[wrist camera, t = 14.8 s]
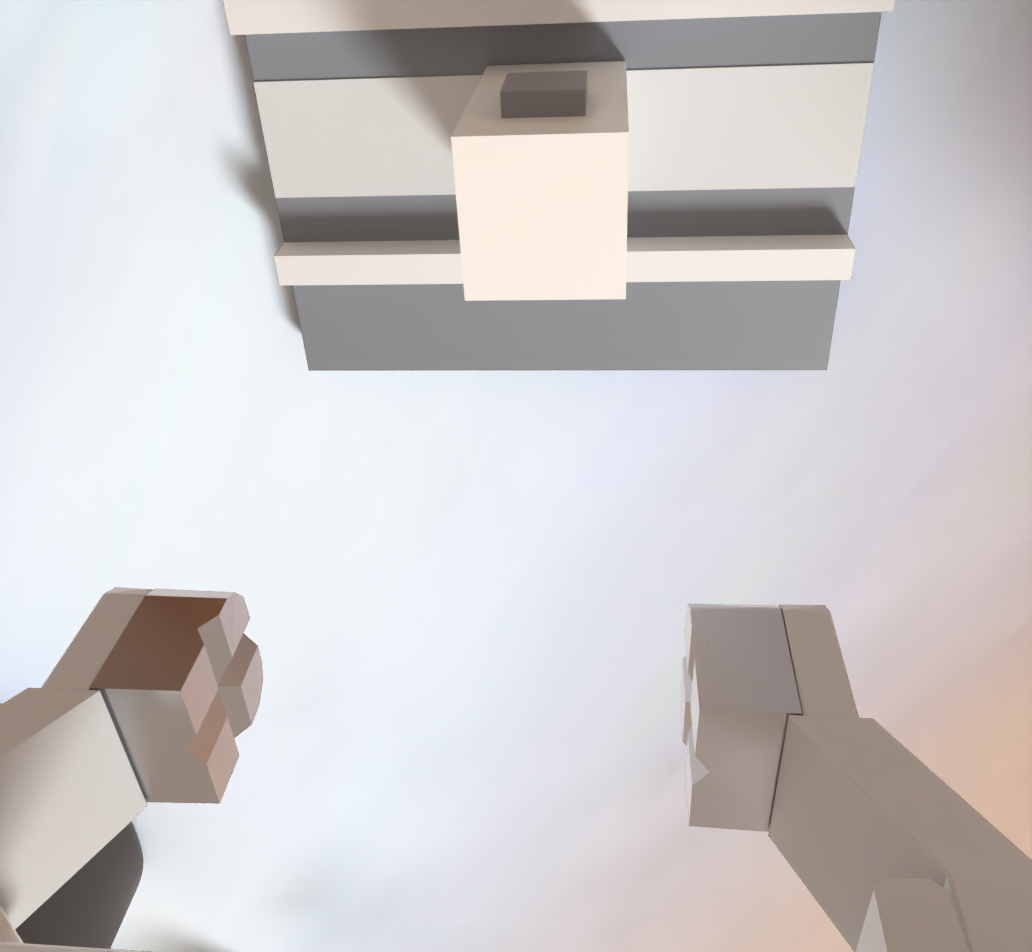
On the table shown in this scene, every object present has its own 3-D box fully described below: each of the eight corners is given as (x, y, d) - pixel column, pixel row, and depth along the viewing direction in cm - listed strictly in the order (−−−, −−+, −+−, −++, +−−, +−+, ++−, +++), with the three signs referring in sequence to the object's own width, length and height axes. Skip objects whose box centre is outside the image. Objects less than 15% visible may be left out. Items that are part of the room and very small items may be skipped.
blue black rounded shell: (191, 854, 55) (121, 1025, 47) (130, 870, 56) (53, 1039, 49) (-15, 667, 47) (-139, 834, 39) (-79, 692, 49) (-210, 858, 41)
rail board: (900, -210, 25) (928, -212, 23) (819, 349, 34) (833, 387, 32) (225, -171, 26) (189, -169, 24) (319, 351, 35) (299, 386, 33)
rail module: (626, 38, 27) (629, 104, 21) (623, 199, 30) (625, 299, 24) (486, 42, 28) (448, 108, 21) (495, 201, 30) (464, 301, 24)
